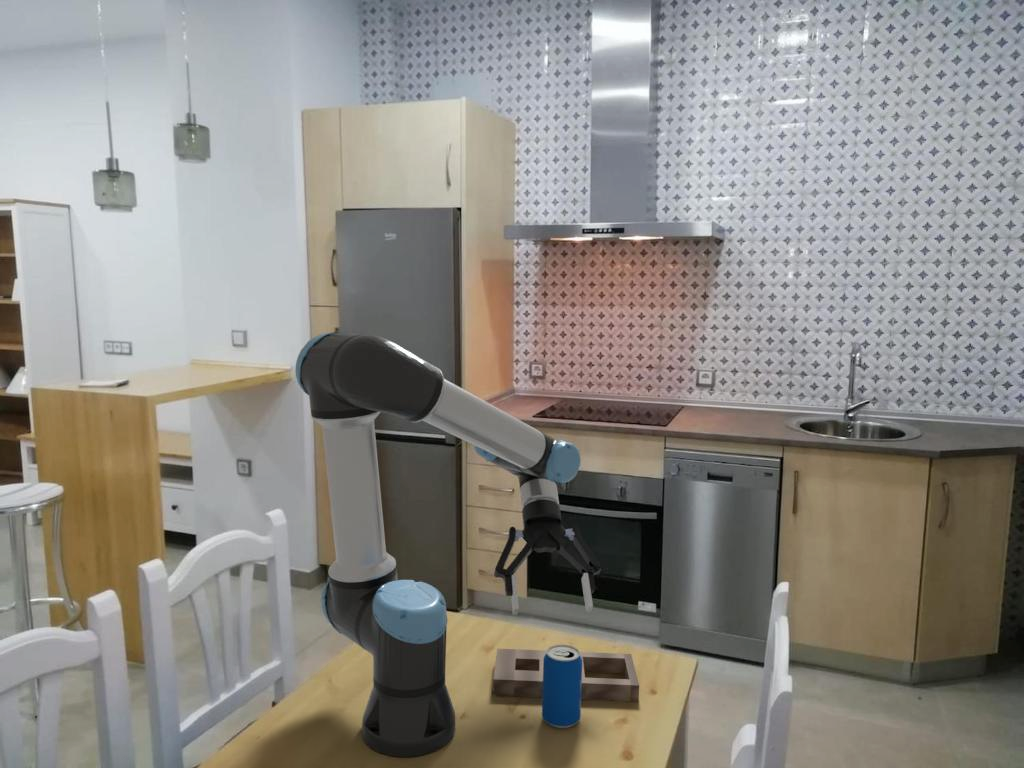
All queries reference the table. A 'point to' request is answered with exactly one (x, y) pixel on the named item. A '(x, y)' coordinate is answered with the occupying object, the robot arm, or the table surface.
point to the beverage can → (562, 686)
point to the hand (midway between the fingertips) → (553, 611)
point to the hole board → (525, 675)
